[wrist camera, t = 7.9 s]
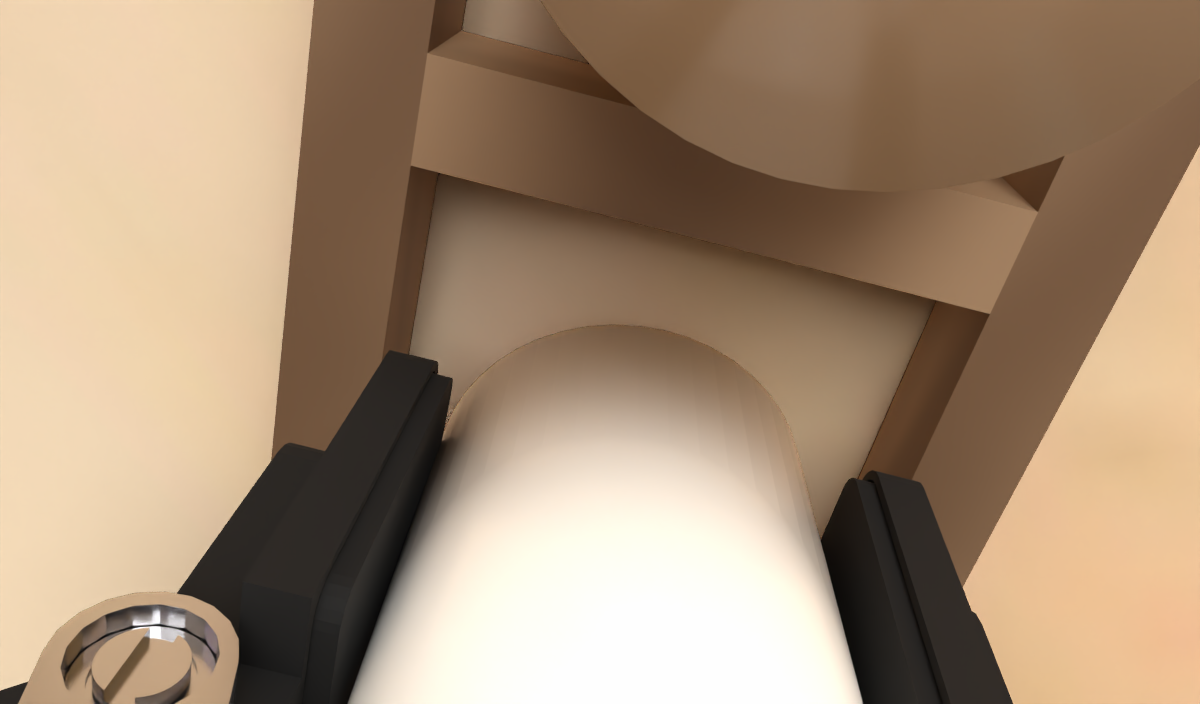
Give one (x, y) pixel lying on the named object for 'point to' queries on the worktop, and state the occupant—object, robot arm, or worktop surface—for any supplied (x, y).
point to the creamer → (612, 541)
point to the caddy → (707, 235)
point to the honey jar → (889, 79)
